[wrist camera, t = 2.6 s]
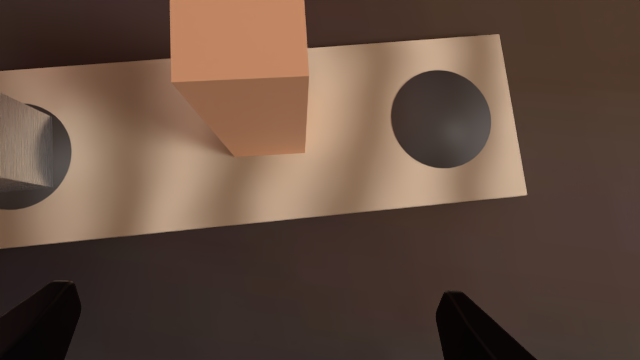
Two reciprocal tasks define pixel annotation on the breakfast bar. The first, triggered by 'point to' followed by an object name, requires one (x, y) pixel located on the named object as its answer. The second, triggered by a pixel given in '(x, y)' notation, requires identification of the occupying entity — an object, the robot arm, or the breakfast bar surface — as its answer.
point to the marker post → (244, 71)
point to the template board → (268, 170)
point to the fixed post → (24, 147)
